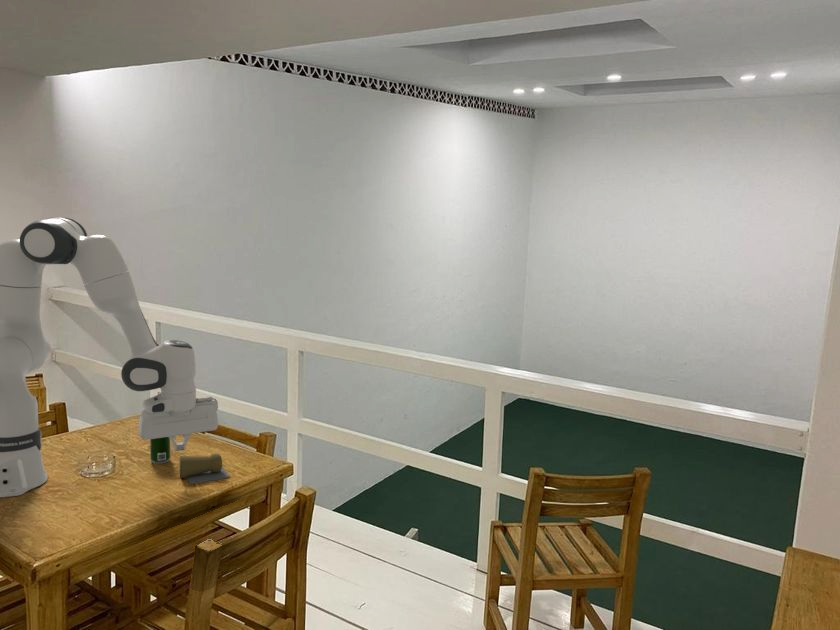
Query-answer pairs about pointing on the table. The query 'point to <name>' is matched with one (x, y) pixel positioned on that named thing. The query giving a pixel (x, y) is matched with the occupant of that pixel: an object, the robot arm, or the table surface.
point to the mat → (208, 476)
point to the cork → (199, 465)
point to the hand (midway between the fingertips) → (179, 449)
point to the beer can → (160, 450)
